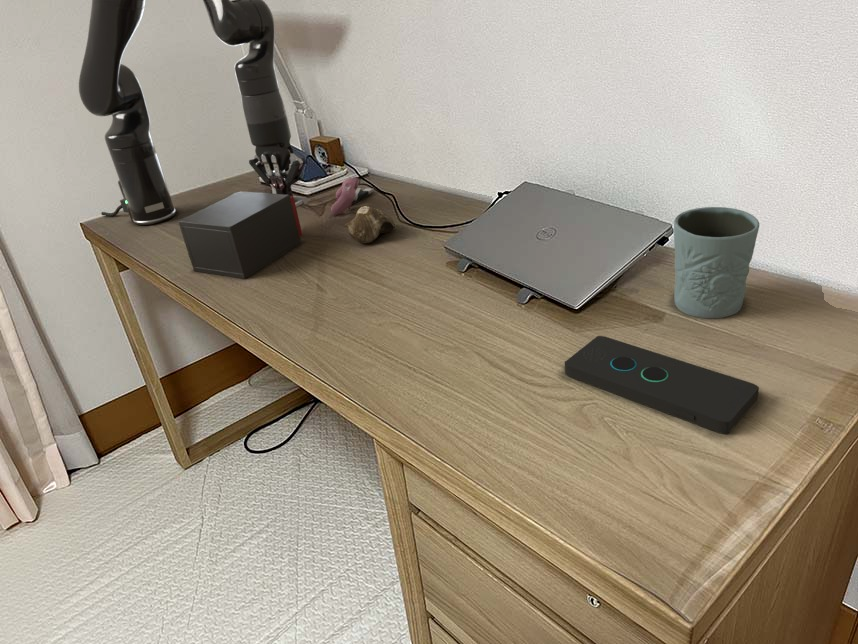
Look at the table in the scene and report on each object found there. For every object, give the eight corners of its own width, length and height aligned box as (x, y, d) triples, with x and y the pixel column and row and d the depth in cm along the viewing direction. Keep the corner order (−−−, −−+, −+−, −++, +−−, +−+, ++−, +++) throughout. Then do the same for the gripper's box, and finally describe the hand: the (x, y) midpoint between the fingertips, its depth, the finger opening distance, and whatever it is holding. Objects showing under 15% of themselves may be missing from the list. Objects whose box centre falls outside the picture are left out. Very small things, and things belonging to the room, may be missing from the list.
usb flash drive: (350, 205, 148) (350, 201, 147) (332, 203, 150) (331, 199, 150) (374, 192, 154) (374, 187, 153) (356, 190, 156) (355, 186, 156)
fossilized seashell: (381, 210, 135) (338, 234, 132) (381, 188, 130) (336, 212, 126) (404, 236, 133) (360, 260, 129) (405, 214, 127) (360, 239, 123)
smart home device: (599, 333, 87) (761, 384, 74) (599, 344, 88) (760, 397, 75) (561, 363, 82) (727, 423, 69) (561, 375, 83) (726, 436, 70)
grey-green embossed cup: (692, 280, 100) (697, 201, 94) (763, 298, 93) (773, 214, 87) (655, 309, 94) (658, 227, 88) (728, 330, 87) (737, 242, 81)
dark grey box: (251, 237, 139) (239, 191, 134) (301, 243, 132) (289, 194, 128) (193, 271, 127) (177, 221, 122) (244, 279, 121) (230, 226, 116)
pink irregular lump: (350, 221, 144) (359, 191, 140) (329, 214, 143) (337, 184, 140) (355, 203, 152) (363, 174, 149) (335, 196, 152) (343, 167, 148)
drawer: (278, 219, 143) (268, 182, 140) (321, 223, 138) (313, 185, 134) (205, 260, 128) (193, 220, 124) (251, 267, 123) (240, 225, 119)
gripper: (306, 111, 128) (324, 200, 136) (253, 111, 134) (274, 196, 143) (279, 122, 122) (301, 214, 131) (226, 121, 129) (249, 209, 137)
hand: (287, 204), depth 137 cm, fingers closed
